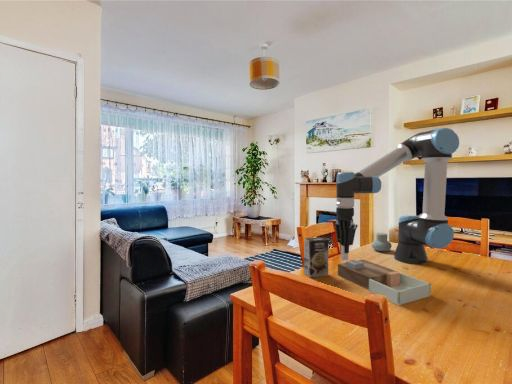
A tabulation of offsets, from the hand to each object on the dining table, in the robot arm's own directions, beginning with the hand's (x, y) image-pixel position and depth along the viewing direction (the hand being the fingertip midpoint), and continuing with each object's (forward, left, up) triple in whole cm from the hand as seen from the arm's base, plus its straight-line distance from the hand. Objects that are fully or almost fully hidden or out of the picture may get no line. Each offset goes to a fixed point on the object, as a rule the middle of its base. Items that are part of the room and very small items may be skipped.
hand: (344, 259), depth 122 cm
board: (-4, +9, -6) cm, 12 cm away
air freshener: (-46, -20, -7) cm, 51 cm away
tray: (-4, +25, -6) cm, 26 cm away
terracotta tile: (-7, +19, -3) cm, 20 cm away
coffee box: (+12, -5, -7) cm, 14 cm away
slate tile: (0, +6, -1) cm, 6 cm away
